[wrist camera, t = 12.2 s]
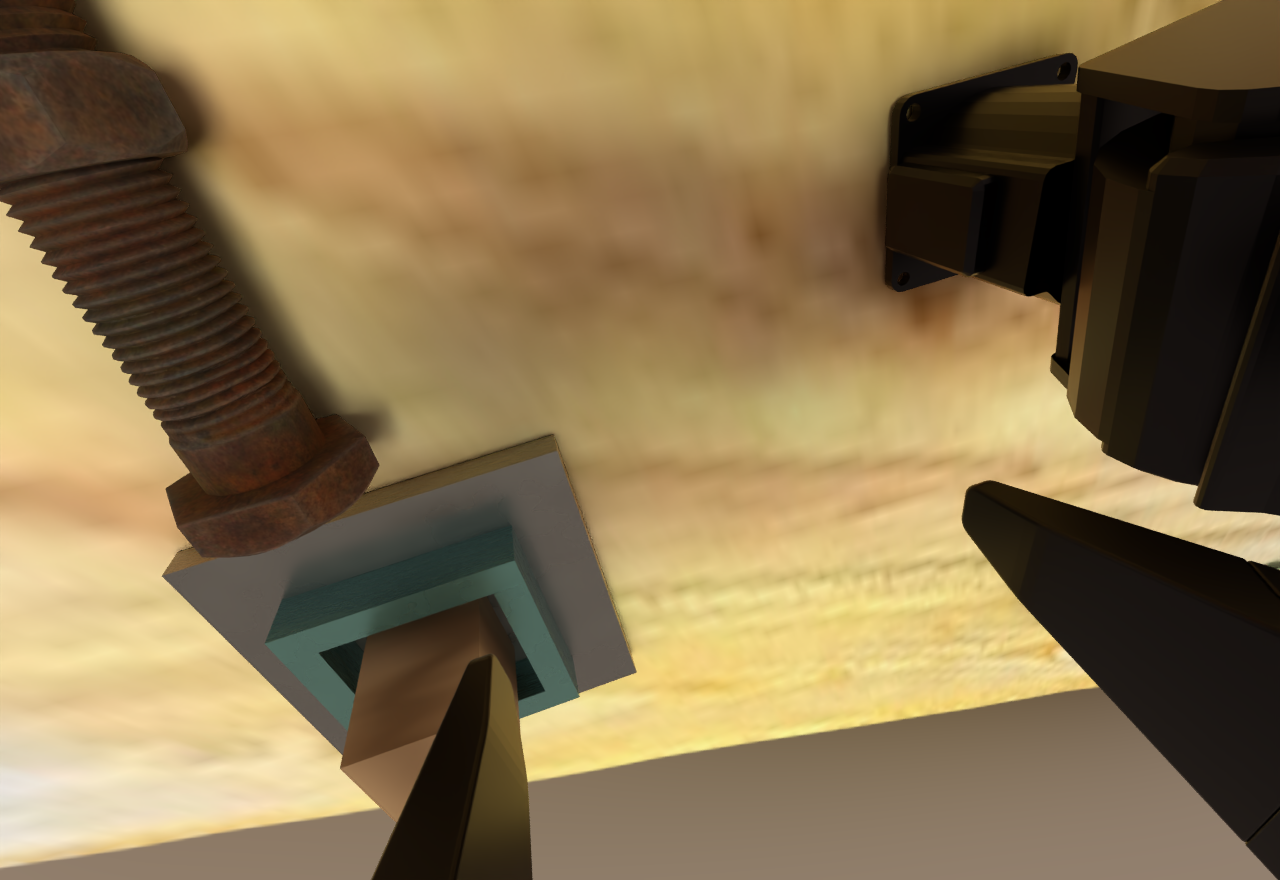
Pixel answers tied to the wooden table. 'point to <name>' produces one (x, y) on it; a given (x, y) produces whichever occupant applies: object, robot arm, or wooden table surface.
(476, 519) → the socket plate
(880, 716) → the wooden table surface
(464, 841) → the robot arm
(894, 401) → the wooden table surface
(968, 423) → the wooden table surface
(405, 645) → the walnut peg
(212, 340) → the bolt
